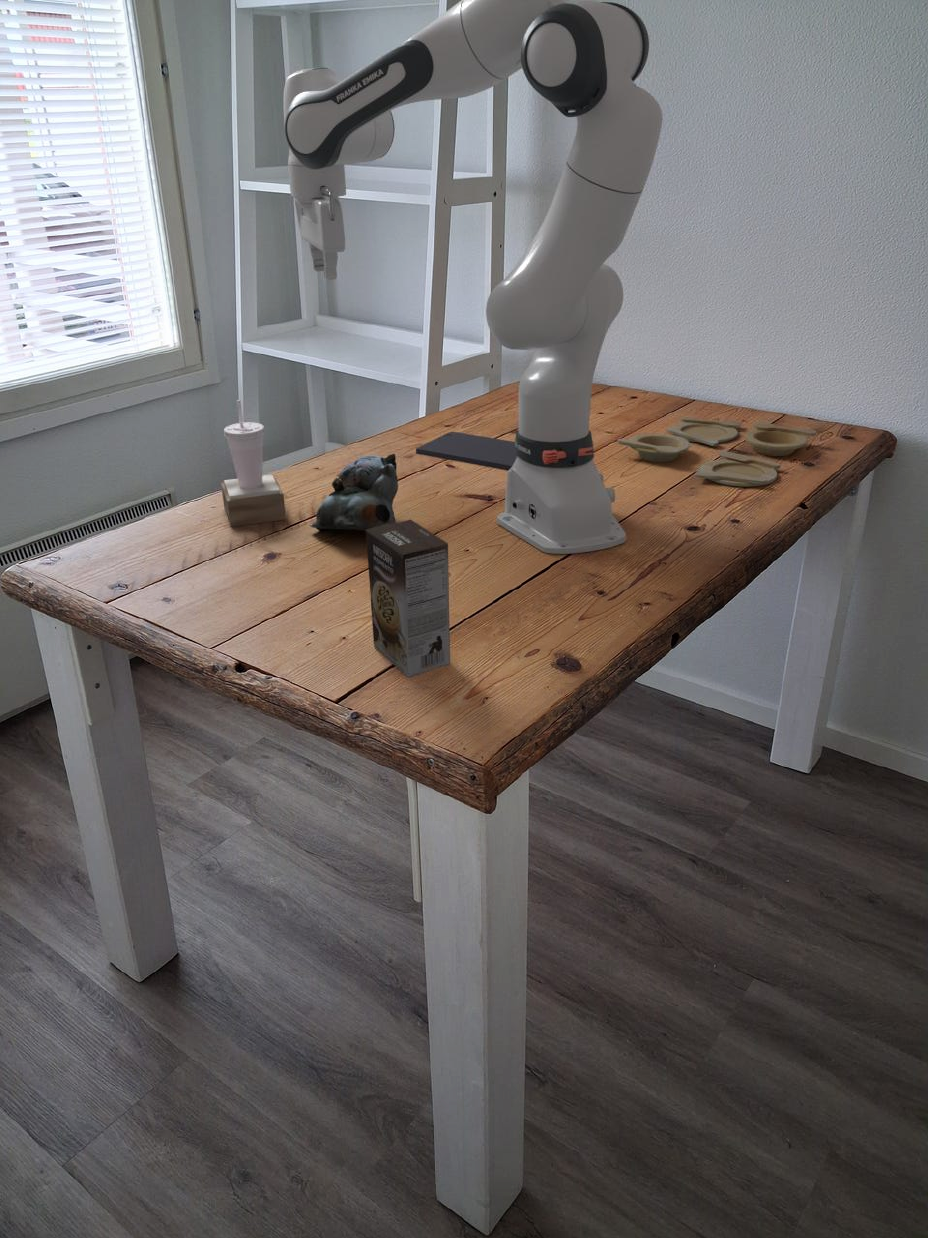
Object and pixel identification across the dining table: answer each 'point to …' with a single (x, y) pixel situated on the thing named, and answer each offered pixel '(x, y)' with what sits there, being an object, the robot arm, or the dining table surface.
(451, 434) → the notebook
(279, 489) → the pedestal
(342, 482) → the grey lumpy figure
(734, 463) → the tableware set
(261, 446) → the smoothie
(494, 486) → the dining table surface
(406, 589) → the coffee box
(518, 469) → the robot arm
